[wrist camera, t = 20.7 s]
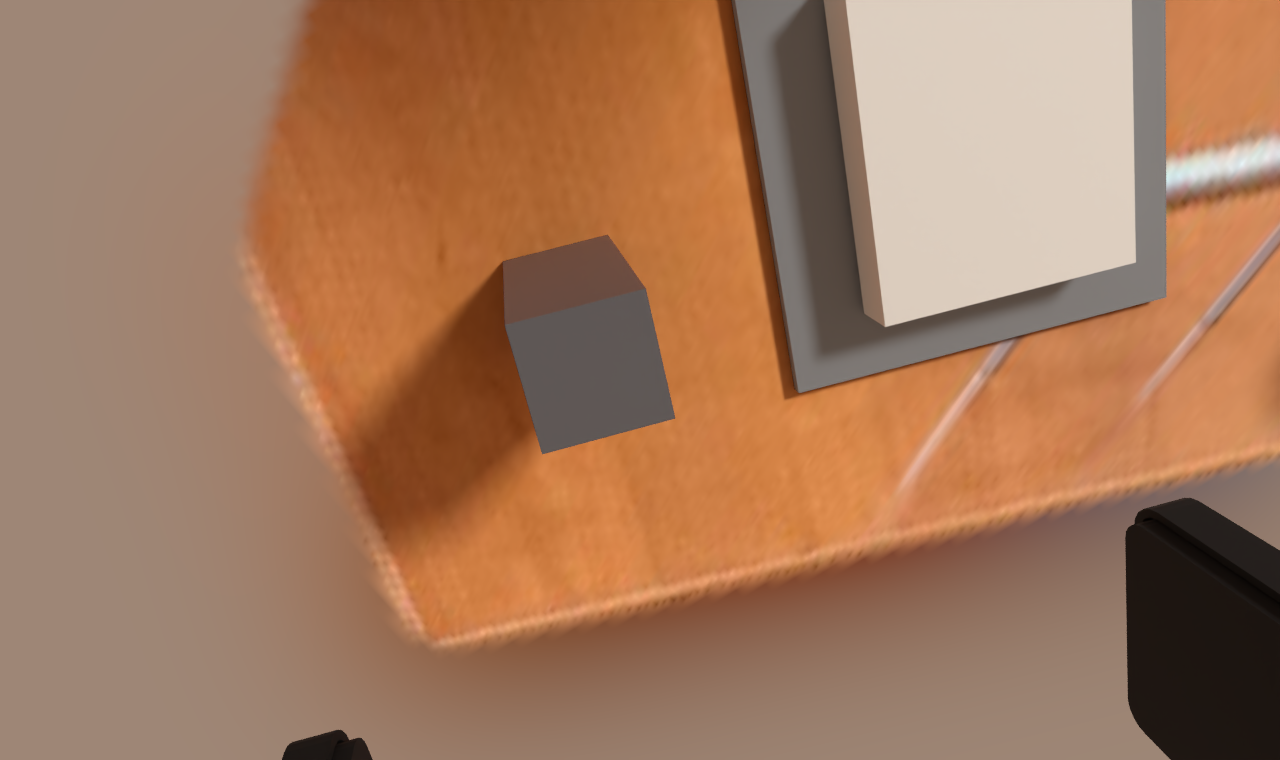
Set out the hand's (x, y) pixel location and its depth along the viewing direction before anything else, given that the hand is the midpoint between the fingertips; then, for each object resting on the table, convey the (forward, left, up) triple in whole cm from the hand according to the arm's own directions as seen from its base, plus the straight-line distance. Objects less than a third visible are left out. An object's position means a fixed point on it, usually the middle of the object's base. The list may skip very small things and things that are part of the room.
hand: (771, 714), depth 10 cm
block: (+1, -1, -24) cm, 24 cm away
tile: (-8, +15, -23) cm, 28 cm away
